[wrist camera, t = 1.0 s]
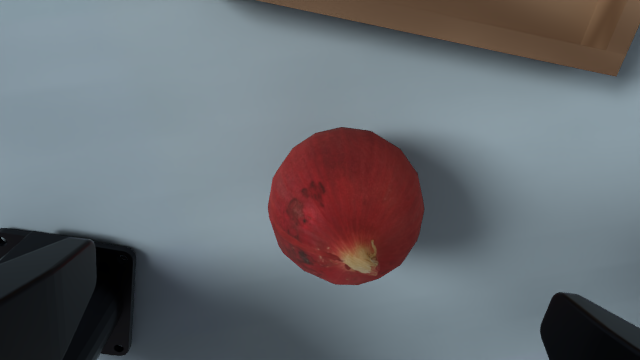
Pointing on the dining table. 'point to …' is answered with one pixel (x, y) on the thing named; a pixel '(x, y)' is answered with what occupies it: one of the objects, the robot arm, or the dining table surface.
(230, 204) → the dining table surface
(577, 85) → the dining table surface
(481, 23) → the tray
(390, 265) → the onion
